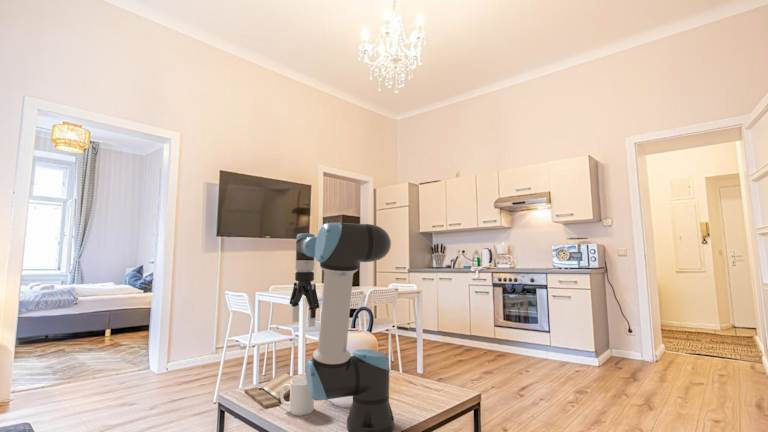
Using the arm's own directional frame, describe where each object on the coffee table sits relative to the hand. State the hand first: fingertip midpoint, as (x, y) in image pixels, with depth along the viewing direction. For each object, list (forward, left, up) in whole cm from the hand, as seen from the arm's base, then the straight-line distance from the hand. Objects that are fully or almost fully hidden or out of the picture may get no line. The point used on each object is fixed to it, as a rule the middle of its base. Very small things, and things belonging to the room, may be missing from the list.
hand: (303, 324), depth 159 cm
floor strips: (+3, +15, -26) cm, 31 cm away
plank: (+3, +7, -24) cm, 25 cm away
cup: (-16, +10, -27) cm, 33 cm away
